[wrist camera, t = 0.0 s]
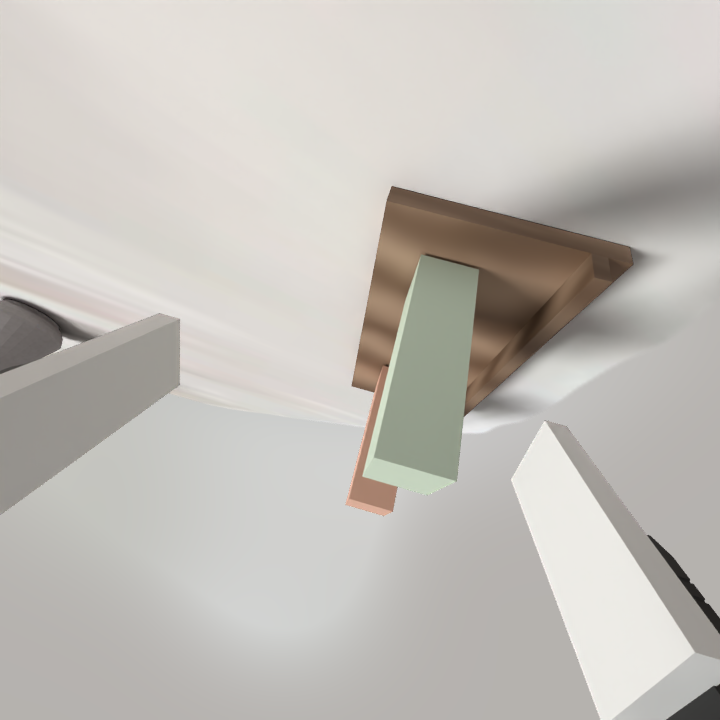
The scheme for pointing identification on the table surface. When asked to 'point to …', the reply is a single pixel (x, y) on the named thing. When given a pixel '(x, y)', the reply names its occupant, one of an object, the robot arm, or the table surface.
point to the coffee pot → (25, 334)
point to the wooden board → (483, 283)
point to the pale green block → (426, 381)
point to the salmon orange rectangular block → (363, 489)
